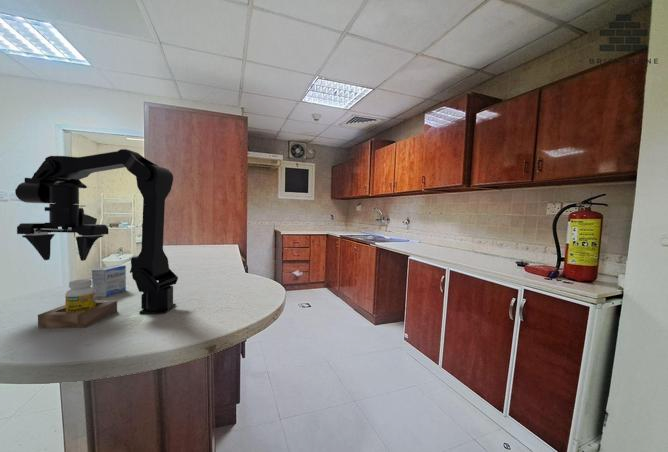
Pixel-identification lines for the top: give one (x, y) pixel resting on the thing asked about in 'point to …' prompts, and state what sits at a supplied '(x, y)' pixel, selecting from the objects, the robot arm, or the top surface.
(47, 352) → the top surface
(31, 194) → the robot arm
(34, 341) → the top surface
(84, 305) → the supplement bottle
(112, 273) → the medicine box
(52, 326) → the socket block
